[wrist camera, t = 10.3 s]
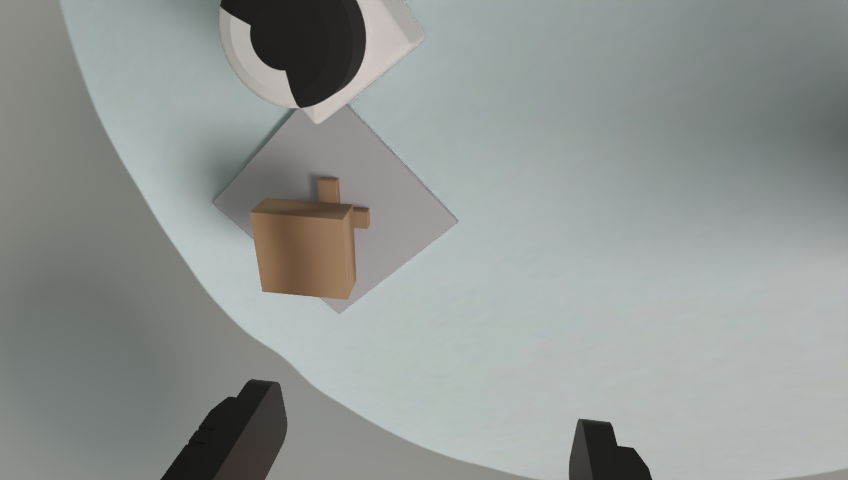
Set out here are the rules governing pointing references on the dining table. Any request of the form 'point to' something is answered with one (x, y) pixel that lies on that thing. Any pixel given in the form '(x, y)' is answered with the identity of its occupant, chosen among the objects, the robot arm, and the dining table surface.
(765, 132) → the dining table surface
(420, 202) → the mat
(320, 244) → the wooden pedestal stool
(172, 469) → the robot arm
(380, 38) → the blocky figurine
